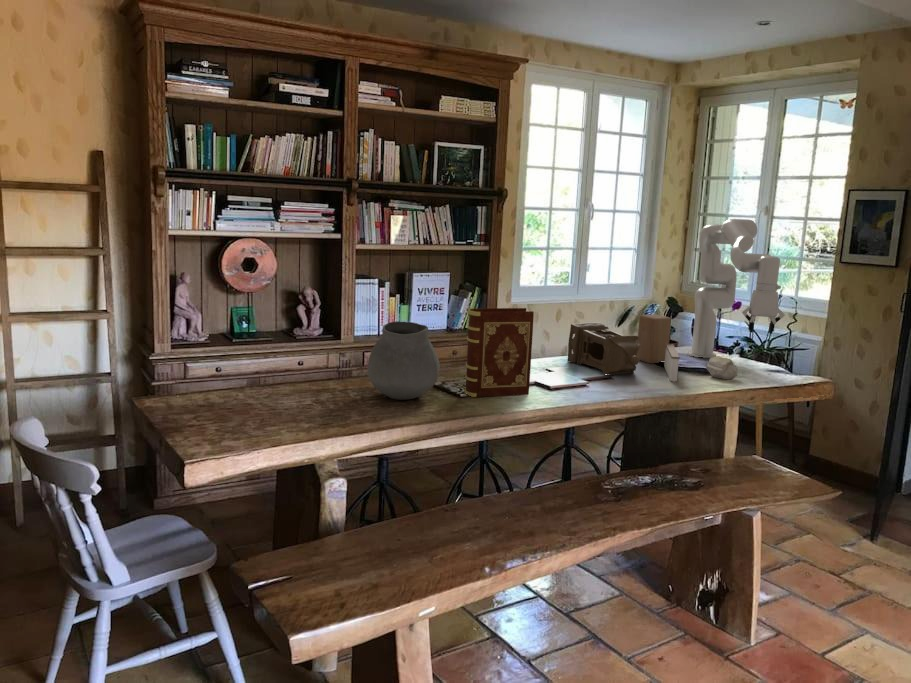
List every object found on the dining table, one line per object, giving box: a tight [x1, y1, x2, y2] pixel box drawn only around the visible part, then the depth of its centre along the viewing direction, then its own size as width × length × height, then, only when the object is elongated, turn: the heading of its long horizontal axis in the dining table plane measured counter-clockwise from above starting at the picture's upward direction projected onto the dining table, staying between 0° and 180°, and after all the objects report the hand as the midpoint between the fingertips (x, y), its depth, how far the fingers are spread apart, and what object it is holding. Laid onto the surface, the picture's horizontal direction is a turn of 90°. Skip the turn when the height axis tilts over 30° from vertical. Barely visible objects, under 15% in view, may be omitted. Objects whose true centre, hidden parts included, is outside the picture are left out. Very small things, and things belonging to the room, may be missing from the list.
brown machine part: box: [566, 321, 640, 376], centre depth 302 cm, size 35×18×18 cm, turn 27°
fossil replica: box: [706, 355, 738, 381], centre depth 298 cm, size 12×8×10 cm
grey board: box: [663, 343, 681, 382], centre depth 301 cm, size 27×3×10 cm, turn 169°
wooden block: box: [637, 313, 672, 364], centre depth 323 cm, size 10×10×20 cm
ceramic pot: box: [367, 320, 441, 401], centre depth 250 cm, size 24×24×25 cm
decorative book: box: [464, 307, 535, 398], centre depth 259 cm, size 22×8×30 cm, turn 106°
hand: (760, 332), depth 293 cm, fingers open, 6 cm apart
